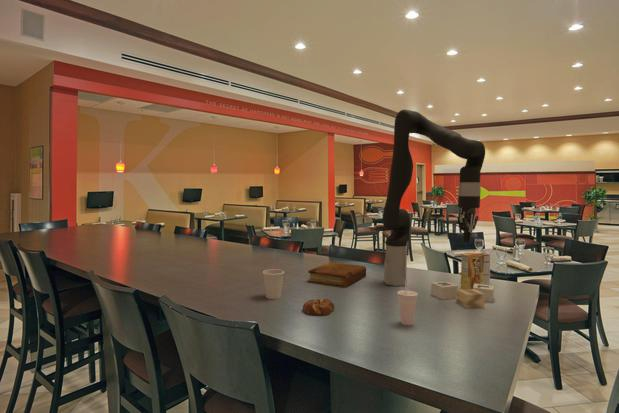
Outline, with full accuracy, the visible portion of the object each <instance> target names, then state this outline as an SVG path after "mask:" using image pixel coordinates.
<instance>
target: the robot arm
mask: <svg viewBox="0 0 619 413" xmlns="http://www.w3.org/2000/svg"><path fill="white" fill-rule="evenodd" d="M410 134H416V135H422V136H423V137H427V138H428V139H429V140H431V142H433V143H434V144H435V145H437V146H439V147H441V148H443V149H446V150H449V151H450V152H451V153H453V154H454V155H455V156H456V157H458V158H460V159H464V160H466V161H465V165H464V166H462V167H461V168H460V170H459V181H458V182H459V183H458V189H457V190H458V193H457V208H460V209H461V212H460V216H458V217H457V223H458V225H459V228H460V231H462V232H463V243H471V242H472V233H473V231H474V230H475V229H476V225H477V223H478V221H479V216H478V215H477V214H476V213H477V212H476V209H480V208H481V189H482V188H481V170H482V167H483V164H484V161H485V157H486V147H485V145H484V143H483V142H482V141H480V140H476V139H475V140H474V139H468V138H466V137H463V136H462V134H460V133H458V132H456V131H454V130H451V129H449V128H447V127H444V126H442V125H439V124H437V123H435V122H433V121H431V120H430V119H428V118H427V117H426V116H424V115H423V114H422V113H420V112H418V111H416V110H415V111H414V110H409V109H402V110H401V109H400V111H399V112H398V113H397V114H396V116H395V119H394V127H393V150H392V156H391V157H392V158H391V164H390V171H389V181H388V188H387V195H386V199H385V200H386V201H385V203H384V208H383V213H382V219H381V220H382V225H383V227H384V228H385V230H388V231H391V233H390V235H389V236H387V237H386V238H385V255H384V256H385V258H384V259H385V260H384V262H383V263H384V264H383V282H384V284H385V285H387V286H396V287H402V286H405V279H407V269H408V268H407V265H408V263H407V259H408V241H409V238H410V230H411V228H410V227H411V218H410V213H409V212H408V211H407V210H406V209H404V208H400V206H401V202H402V199H403V197H404V195H405V193H406V191H407V189H408V187H409V186H410V184H411V182H412V178H413V171H414V162H413V158H412V154H411V151H410V148H409V147H410V146H409V142H410V141H409V139H410Z"/></svg>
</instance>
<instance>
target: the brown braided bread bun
mask: <svg viewBox="0 0 619 413" xmlns="http://www.w3.org/2000/svg"><path fill="white" fill-rule="evenodd" d="M302 310H303V312H304V313H305V314H308V315H311V316H328V315H330V314H331V313H332V311H334V310H335V304H334V303H333V301H332V300H331V299H329V298H323V299H318V298H317V299H309V300H307V301H305V302H304V303H303V305H302Z"/></svg>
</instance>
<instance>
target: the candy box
mask: <svg viewBox="0 0 619 413" xmlns="http://www.w3.org/2000/svg"><path fill="white" fill-rule="evenodd" d="M483 266H484V254H482V253H477V252H476V253H474V252H468V253H461V266H460V267H461V269H460V289H473V286H474V284H483Z"/></svg>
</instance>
